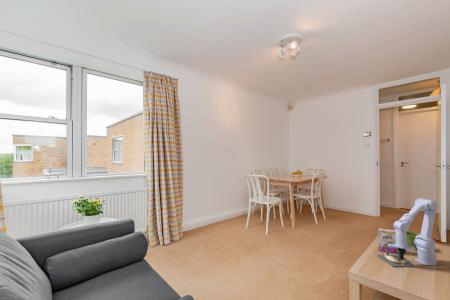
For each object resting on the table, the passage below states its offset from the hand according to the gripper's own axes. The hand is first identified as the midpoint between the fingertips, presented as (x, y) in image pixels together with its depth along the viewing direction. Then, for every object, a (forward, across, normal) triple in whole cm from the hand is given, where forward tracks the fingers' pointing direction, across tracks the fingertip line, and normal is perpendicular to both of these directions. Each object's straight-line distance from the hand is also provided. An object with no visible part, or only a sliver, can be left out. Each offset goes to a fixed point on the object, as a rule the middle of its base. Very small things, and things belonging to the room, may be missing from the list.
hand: (401, 259), depth 144 cm
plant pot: (+4, -18, -33) cm, 38 cm away
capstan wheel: (+3, +2, -4) cm, 5 cm away
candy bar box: (+4, +2, -20) cm, 20 cm away
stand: (+4, +2, -4) cm, 6 cm away
